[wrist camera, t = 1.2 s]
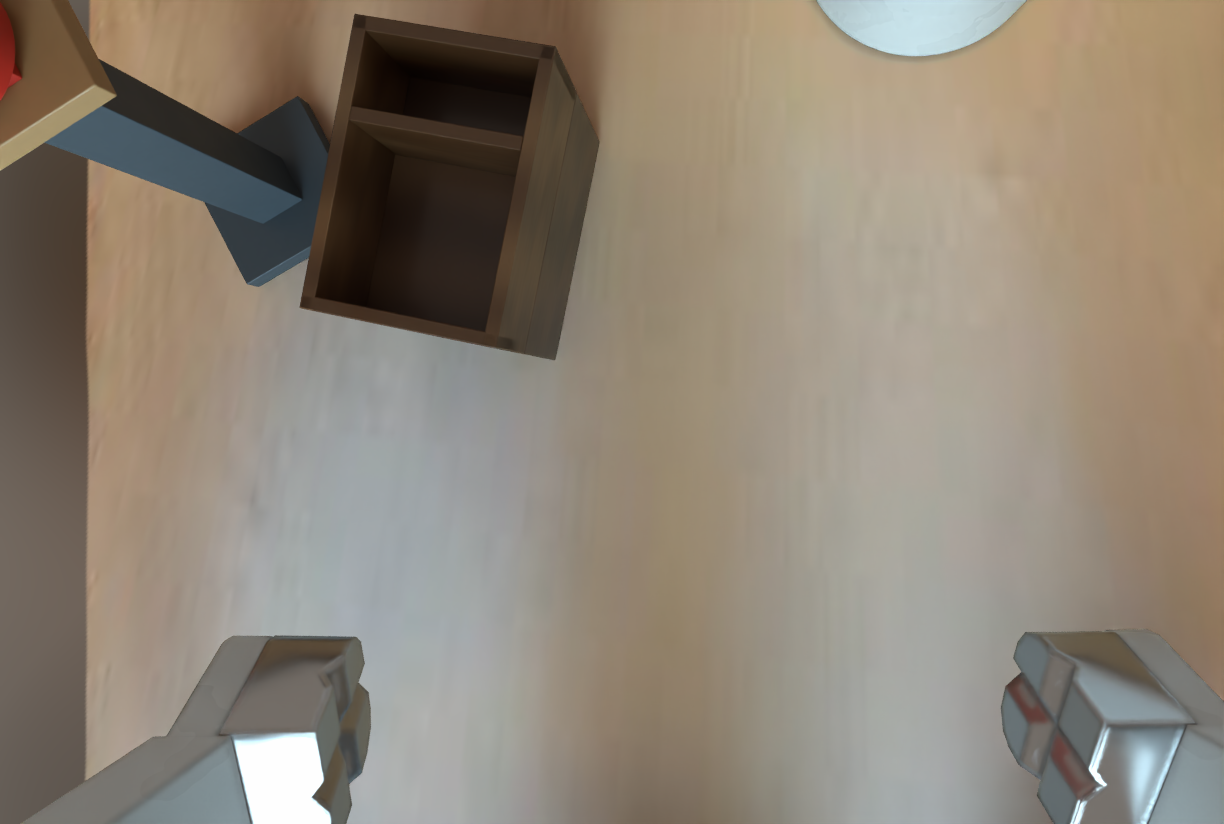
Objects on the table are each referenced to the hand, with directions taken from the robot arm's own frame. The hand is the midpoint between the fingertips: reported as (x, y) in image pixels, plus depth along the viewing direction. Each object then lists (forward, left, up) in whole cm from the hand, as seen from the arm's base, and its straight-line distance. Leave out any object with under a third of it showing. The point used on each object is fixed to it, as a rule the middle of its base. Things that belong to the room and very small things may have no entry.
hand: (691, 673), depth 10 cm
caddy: (-11, -16, -43) cm, 47 cm away
